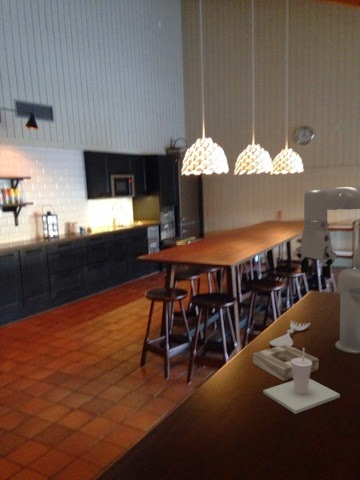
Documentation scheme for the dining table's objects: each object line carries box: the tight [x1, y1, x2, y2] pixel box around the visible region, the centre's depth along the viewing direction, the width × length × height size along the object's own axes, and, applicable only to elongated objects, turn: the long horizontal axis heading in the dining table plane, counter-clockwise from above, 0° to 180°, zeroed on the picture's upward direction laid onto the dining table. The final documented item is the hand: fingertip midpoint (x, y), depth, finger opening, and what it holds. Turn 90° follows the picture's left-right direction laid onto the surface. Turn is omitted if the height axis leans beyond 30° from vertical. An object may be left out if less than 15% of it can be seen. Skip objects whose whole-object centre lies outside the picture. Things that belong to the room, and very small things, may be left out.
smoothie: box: [291, 347, 312, 395], centre depth 127 cm, size 6×6×14 cm
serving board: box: [262, 378, 341, 415], centre depth 128 cm, size 18×14×1 cm
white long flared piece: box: [269, 319, 311, 348], centre depth 176 cm, size 9×32×4 cm, turn 147°
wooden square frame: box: [252, 344, 319, 381], centre depth 148 cm, size 16×16×4 cm
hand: (315, 274), depth 144 cm, fingers open, 9 cm apart
